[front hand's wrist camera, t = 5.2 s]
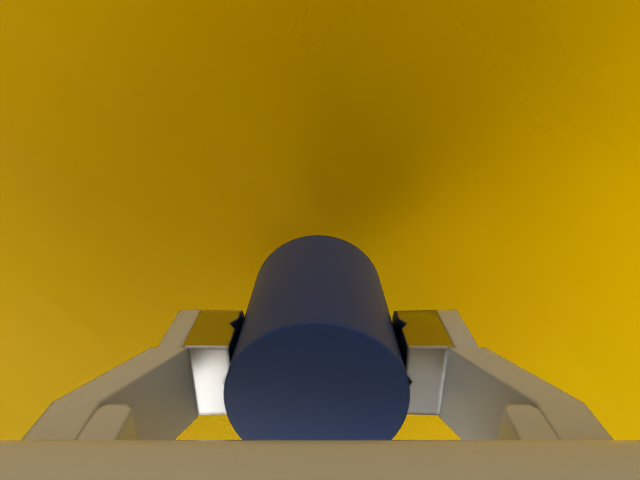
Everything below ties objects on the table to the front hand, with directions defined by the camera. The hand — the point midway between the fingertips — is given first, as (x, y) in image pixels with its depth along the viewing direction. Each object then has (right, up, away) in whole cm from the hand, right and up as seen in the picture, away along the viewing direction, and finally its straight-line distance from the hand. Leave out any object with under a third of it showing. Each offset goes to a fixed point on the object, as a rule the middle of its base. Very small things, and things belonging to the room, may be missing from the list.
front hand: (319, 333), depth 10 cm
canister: (0, +1, +2) cm, 2 cm away
